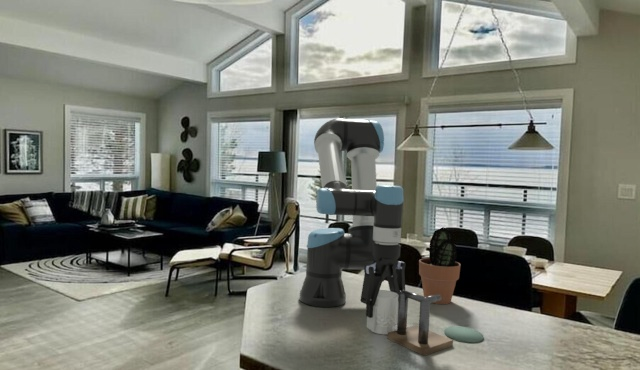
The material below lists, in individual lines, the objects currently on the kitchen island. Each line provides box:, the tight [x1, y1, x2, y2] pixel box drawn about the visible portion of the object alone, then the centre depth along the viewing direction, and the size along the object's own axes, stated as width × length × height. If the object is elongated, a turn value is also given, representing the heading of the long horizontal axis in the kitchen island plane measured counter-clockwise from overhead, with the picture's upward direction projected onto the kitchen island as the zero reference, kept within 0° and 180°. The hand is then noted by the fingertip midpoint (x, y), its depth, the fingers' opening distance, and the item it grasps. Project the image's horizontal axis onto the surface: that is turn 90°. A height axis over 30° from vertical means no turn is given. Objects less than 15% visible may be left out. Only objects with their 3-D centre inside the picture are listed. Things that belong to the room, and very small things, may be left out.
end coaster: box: [443, 325, 484, 344], centre depth 118 cm, size 10×10×1 cm
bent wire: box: [396, 289, 441, 345], centre depth 112 cm, size 9×7×11 cm
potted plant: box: [418, 227, 462, 305], centre depth 149 cm, size 14×14×25 cm
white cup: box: [369, 289, 399, 336], centre depth 119 cm, size 8×8×10 cm
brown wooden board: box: [387, 324, 454, 356], centre depth 112 cm, size 12×11×2 cm
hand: (382, 325), depth 119 cm, fingers closed on white cup, 8 cm apart
